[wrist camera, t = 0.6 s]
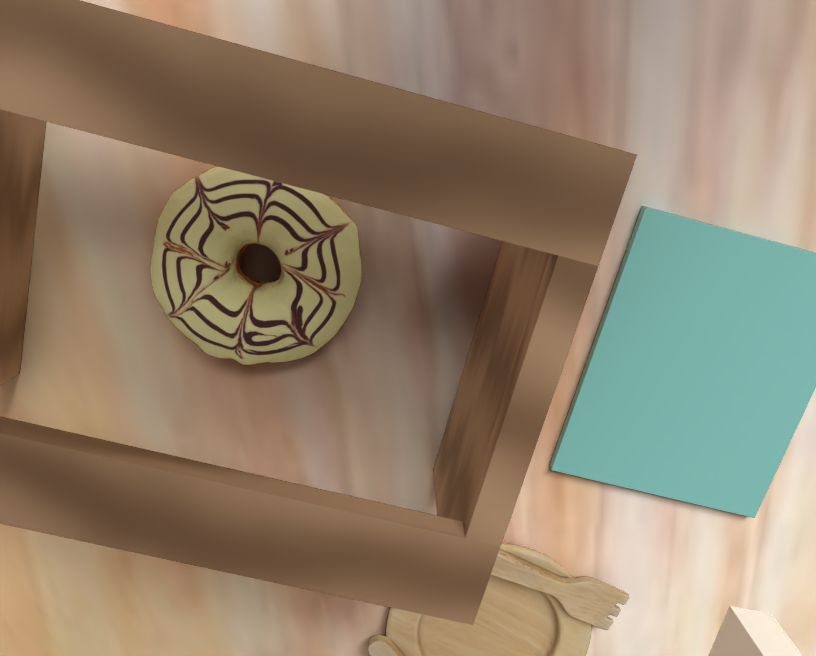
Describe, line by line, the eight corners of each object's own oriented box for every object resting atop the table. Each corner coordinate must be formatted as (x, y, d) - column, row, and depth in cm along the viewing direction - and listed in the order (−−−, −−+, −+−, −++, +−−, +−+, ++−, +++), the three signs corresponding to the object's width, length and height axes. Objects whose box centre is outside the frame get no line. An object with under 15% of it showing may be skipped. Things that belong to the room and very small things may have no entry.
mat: (642, 205, 37) (645, 207, 36) (863, 265, 38) (870, 268, 37) (549, 465, 42) (551, 470, 41) (749, 512, 43) (754, 518, 42)
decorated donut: (336, 369, 40) (329, 395, 36) (152, 320, 39) (126, 341, 35) (384, 194, 37) (383, 203, 33) (187, 136, 36) (163, 139, 32)
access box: (33, -3, 34) (-181, -72, 21) (556, 141, 36) (637, 154, 24) (-2, 367, 40) (-188, 483, 27) (452, 473, 42) (473, 625, 29)
